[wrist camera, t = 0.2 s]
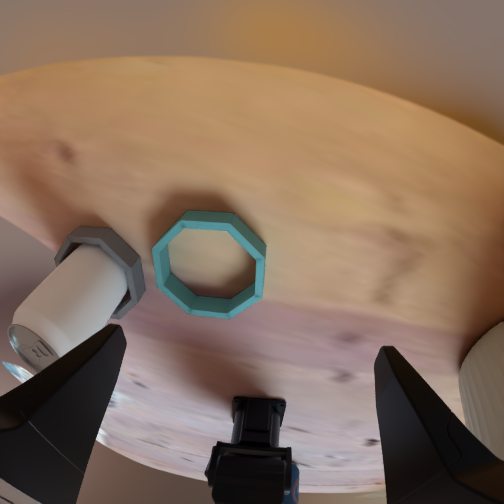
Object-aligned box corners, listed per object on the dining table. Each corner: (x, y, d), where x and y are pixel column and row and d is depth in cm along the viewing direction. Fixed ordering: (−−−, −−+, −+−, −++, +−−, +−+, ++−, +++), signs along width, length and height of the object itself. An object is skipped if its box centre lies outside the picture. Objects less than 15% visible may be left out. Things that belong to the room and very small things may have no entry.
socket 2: (261, 307, 28) (260, 322, 26) (167, 297, 28) (161, 310, 26) (268, 215, 23) (267, 226, 22) (157, 208, 24) (148, 218, 22)
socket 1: (149, 310, 29) (142, 323, 28) (79, 298, 30) (70, 309, 28) (136, 229, 25) (126, 240, 23) (59, 225, 26) (47, 234, 24)
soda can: (298, 471, 47) (296, 526, 36) (261, 471, 48) (256, 525, 37) (300, 458, 43) (298, 520, 33) (259, 458, 44) (253, 518, 34)
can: (66, 254, 27) (-6, 330, 17) (104, 227, 25) (21, 310, 15) (103, 303, 30) (47, 388, 19) (145, 283, 28) (86, 381, 17)
